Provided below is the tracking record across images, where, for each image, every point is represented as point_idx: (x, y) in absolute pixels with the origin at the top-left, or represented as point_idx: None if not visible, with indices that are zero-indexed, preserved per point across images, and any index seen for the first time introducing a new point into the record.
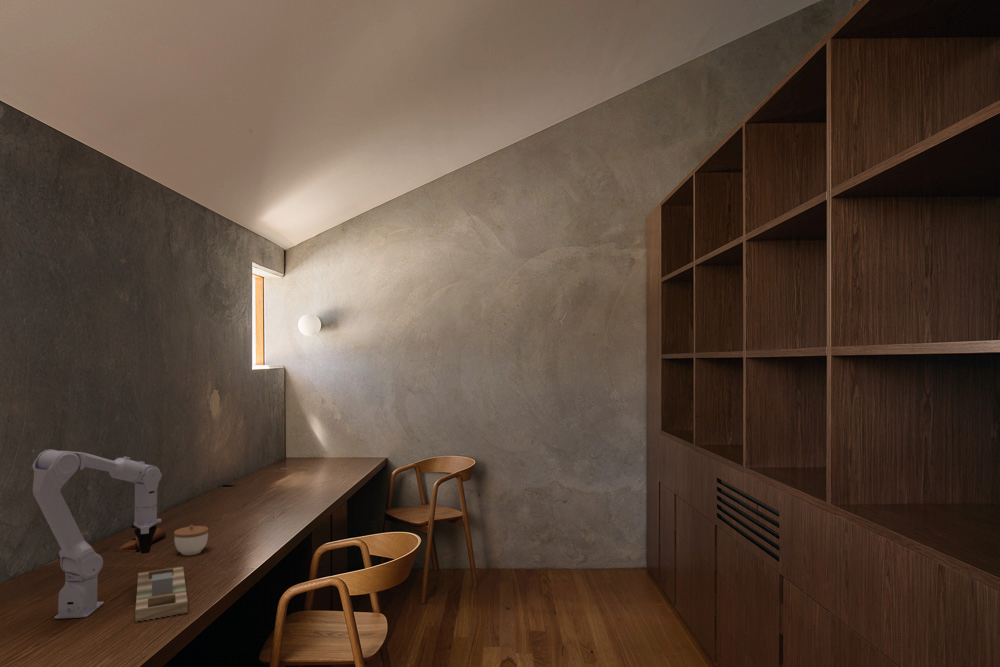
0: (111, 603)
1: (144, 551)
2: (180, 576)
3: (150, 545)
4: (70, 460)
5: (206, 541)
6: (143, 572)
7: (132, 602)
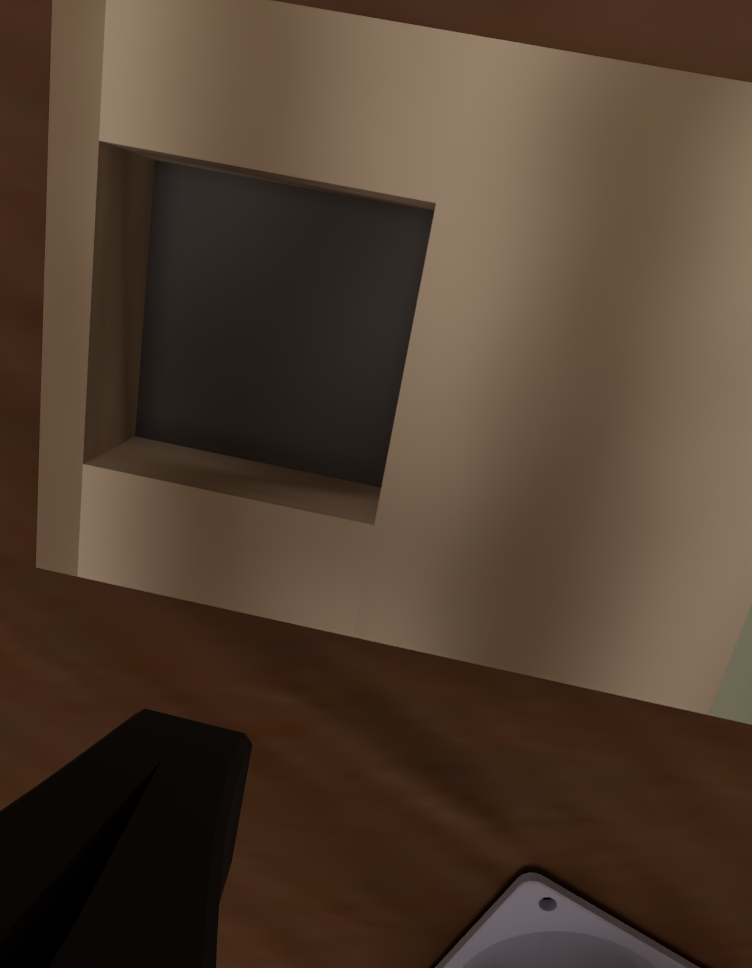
0: (563, 818)
1: (226, 858)
2: (573, 118)
3: (220, 878)
4: None
5: None
6: (53, 516)
7: None
